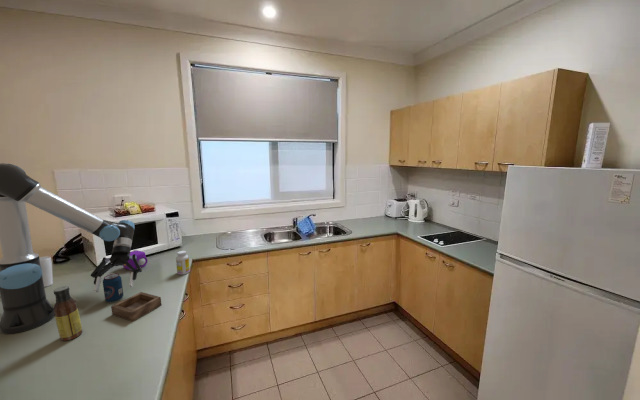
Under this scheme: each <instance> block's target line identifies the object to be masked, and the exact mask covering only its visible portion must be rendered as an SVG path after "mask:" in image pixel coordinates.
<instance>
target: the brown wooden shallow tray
mask: <svg viewBox="0 0 640 400" xmlns="http://www.w3.org/2000/svg"><path fill="white" fill-rule="evenodd" d="M161 306H162V298H161V296H158V295H154V294H150V293H147V292H143V291H140V292H138V293H136V294H134V295H132V296H130V297H127V298H125V299H124V300H121V301H118V302H116V304H113V305H111V306H110V308H111V315H112V316H115V317H117V318H121V319H124V320H127V321H130V322H135V321H136V320H138V319H139V318H141V316H142V317H144V316H145V315H147V314H148V313H150V312H152V311H154V310H155V309H157V308H159V307H161Z"/></svg>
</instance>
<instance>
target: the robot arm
mask: <svg viewBox="0 0 640 400" xmlns="http://www.w3.org/2000/svg"><path fill="white" fill-rule="evenodd" d="M26 203H27V204H29V205H31V206H34V207H35V208H36V209H37V208H38V209H39V210H41V211H44V212H46V213H48V214H50V215H52V216H54V217H57V218H58V219H60V220H63V221H64V222H67V223H69V224H71V225H73V226H74V227H78V228H80V229H82V230H84V231H86V232H87V233H90V234H92V235H94V236H96V237H98V238H100V239H101V240H103V241H104V242H113V241H114V242H113V245H112V250H111V256H110V257H106V256H104V257H102V260H101V262H100V263H99V264H98V265H97V266H96V267H95V269H94V270H93V271H92V272H91V273H90V277H92V278H93V285H94V288H93V291H95V292H96V293H99V291H100V287H101V282H102V279H103V278H102V277H103V276H104V275H105V274H107V272H108V271H110V270H111V269H112V268H114V267H119V266H123V265H124V264H126V265H127V266H128V267H129V268H130V269H131V270H130V271H132V272H130V277H129V283H128V286H129V287H130V288H134V283H135V280H137V275H138V274H139V273H142V271H143V270H142V267H141V268H140V266H139V264H138V262H137V257H136V255H135V254H133V255H132V256H130V252H132V251H131V248H132V243H133V238H134V234H135V222H134V221H132V220H128V219H127V220H126V219H122V220H119V222H115V221H111V220H106V219H103V218H101V217H99V216H98V215H95V214H94V213H92V212H90V211H88V210H87V209H84V208H82V207H81V206H78V205H77V204H75V203H74V202H71V201H69V200H68V199H65V198H64V197H62V196H59V195H58V194H56V193H54V192H52V191H51V190H48V189H47V188H45V187H42V184H41V183H40V182H39V181H38V180H35V179H34V178H32V177H30V176H29V175H27V173H26V171H25V170H24V169H22V168H21V167H19V166H18V165H15V164H13V163H12V164H11V163H3V162H2V163H0V249H1V253H2V254H1V255H2V257H1V258H0V300H1V306H2V310H3V312H2V314H1V315H2V316H1V319H0V333H1V334H5V335H11V334H12V335H13V334H17V333H22V332H26V331H29V330H32V329H35V328H38V327H40V326H42V325H45V323H47V322H49V321H50V320H52V319H54V318H55V313H54V309H53V308H54V306H53V305H52V304H51V303H50V301H48V299H47V293H46V290H45V288H46V287H44V283H43V277H42V268H41V266H40V259H39V258H40V255H39V253H37V252H34V249H33V242H32V237H31V229H30V224H29V217H28V216H29V215H28V210H27V204H26ZM130 258H131V259H132V260H133V261H134V263H135V265H136V267H137V269H134V268H133V267H132V266H131V265H130V264H129V263H128V262H127V261H128V260H129V259H130Z"/></svg>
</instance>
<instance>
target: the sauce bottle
mask: <svg viewBox="0 0 640 400" xmlns="http://www.w3.org/2000/svg"><path fill="white" fill-rule="evenodd" d="M53 294H54V296H55V303H54V305H53V309H54V313H55V316H54V318H55V322H56V327H57V331H58V335H59V338H60V339H61V341H63V342H64V341H65V342H67V341H70V340H74V339H76V338H78V337H80V335H82V333H83V326H82V321H81V316H80V311H79V308H78V305H77V301H76V300H75V299H74V298H72V297H71V294H70V287H69V286H68V285H65V286H59V287H57V288H55V289H54V290H53Z"/></svg>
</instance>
